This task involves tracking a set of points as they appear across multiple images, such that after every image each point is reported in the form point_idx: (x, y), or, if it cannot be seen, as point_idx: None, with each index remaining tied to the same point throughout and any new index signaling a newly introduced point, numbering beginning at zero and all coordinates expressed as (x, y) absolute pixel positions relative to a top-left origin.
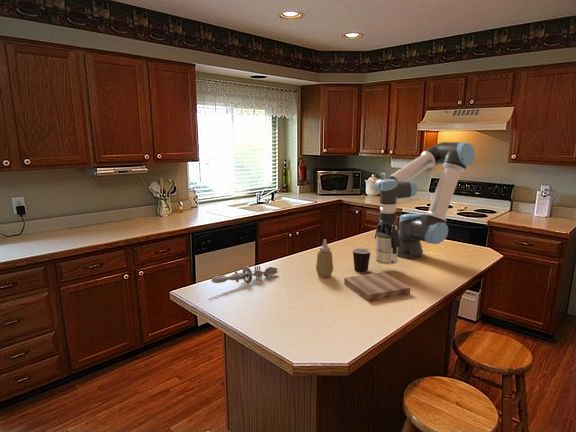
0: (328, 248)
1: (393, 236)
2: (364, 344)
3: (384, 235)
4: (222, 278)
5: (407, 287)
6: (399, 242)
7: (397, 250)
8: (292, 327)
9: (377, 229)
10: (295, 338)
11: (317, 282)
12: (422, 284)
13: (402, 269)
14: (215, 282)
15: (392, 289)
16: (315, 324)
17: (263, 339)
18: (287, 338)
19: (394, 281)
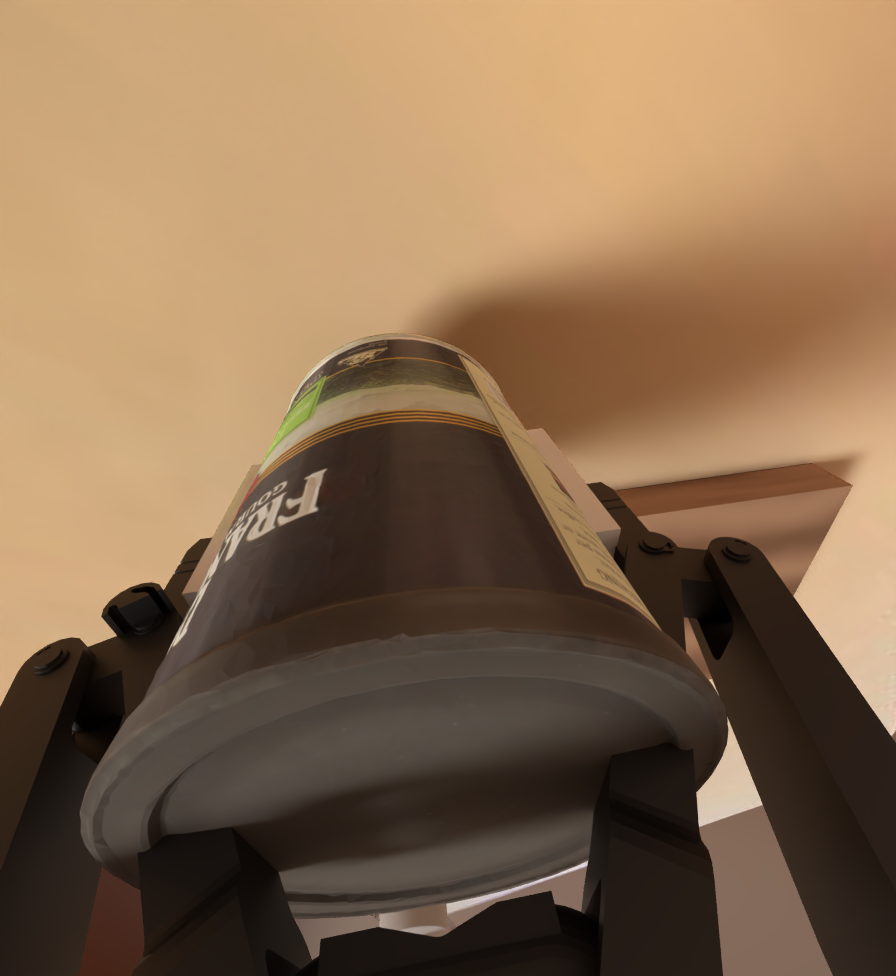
0: (444, 925)
1: (780, 801)
2: (886, 701)
3: (538, 849)
4: (448, 932)
5: (837, 499)
6: (787, 601)
7: (502, 411)
8: (710, 790)
9: (53, 973)
10: (753, 786)
11: None
12: (779, 280)
13: (408, 227)
14: (455, 927)
15: (789, 578)
16: (733, 761)
17: (714, 817)
18: (742, 794)
19: (724, 527)
